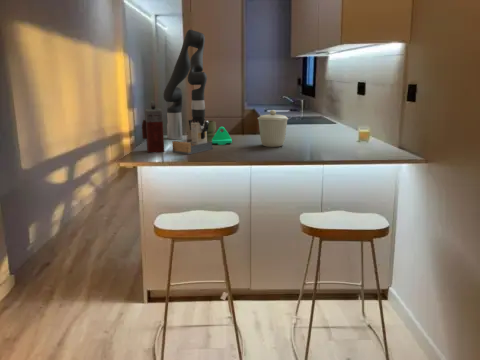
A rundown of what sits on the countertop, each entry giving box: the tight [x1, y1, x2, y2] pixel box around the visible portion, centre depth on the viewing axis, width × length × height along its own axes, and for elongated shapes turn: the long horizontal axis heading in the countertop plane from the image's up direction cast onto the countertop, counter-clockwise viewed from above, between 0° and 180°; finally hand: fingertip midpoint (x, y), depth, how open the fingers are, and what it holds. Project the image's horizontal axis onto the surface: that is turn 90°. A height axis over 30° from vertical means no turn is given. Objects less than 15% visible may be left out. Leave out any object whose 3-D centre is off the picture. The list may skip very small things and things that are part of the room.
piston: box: [207, 120, 217, 142], centre depth 294 cm, size 11×12×11 cm
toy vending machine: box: [141, 100, 165, 154], centre depth 254 cm, size 9×11×28 cm
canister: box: [257, 109, 289, 148], centre depth 269 cm, size 18×18×21 cm
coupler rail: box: [172, 140, 214, 155], centre depth 257 cm, size 12×20×6 cm, turn 143°
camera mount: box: [211, 126, 233, 146], centre depth 280 cm, size 12×8×10 cm, turn 93°
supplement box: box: [190, 122, 207, 145], centre depth 260 cm, size 8×5×13 cm, turn 141°
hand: (199, 138), depth 261 cm, fingers closed on supplement box, 5 cm apart
